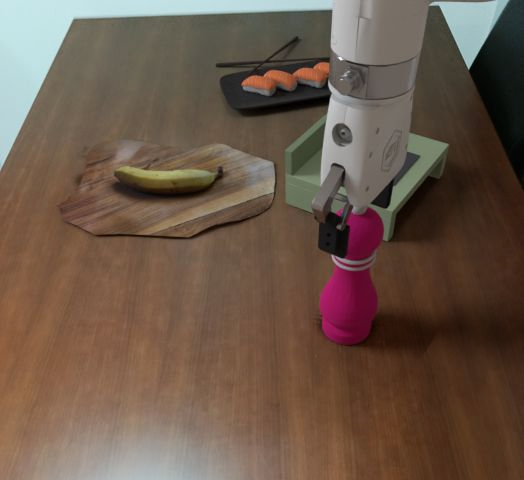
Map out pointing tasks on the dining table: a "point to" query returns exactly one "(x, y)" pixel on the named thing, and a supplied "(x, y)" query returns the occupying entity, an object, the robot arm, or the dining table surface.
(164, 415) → the dining table surface
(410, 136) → the shelf
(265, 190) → the cutting board
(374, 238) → the pepper mill
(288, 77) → the sushi plate
